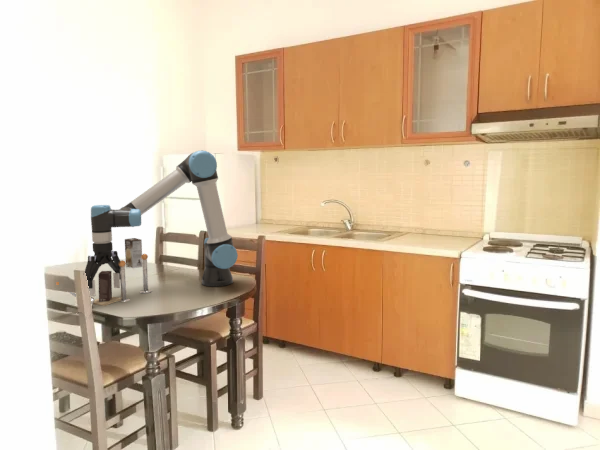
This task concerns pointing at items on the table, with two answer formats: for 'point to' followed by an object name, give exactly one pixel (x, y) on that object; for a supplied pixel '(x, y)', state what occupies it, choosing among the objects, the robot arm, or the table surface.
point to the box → (105, 286)
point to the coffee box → (133, 252)
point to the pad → (106, 301)
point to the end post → (75, 294)
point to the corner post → (123, 282)
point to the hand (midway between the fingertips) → (105, 291)
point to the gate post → (145, 275)
